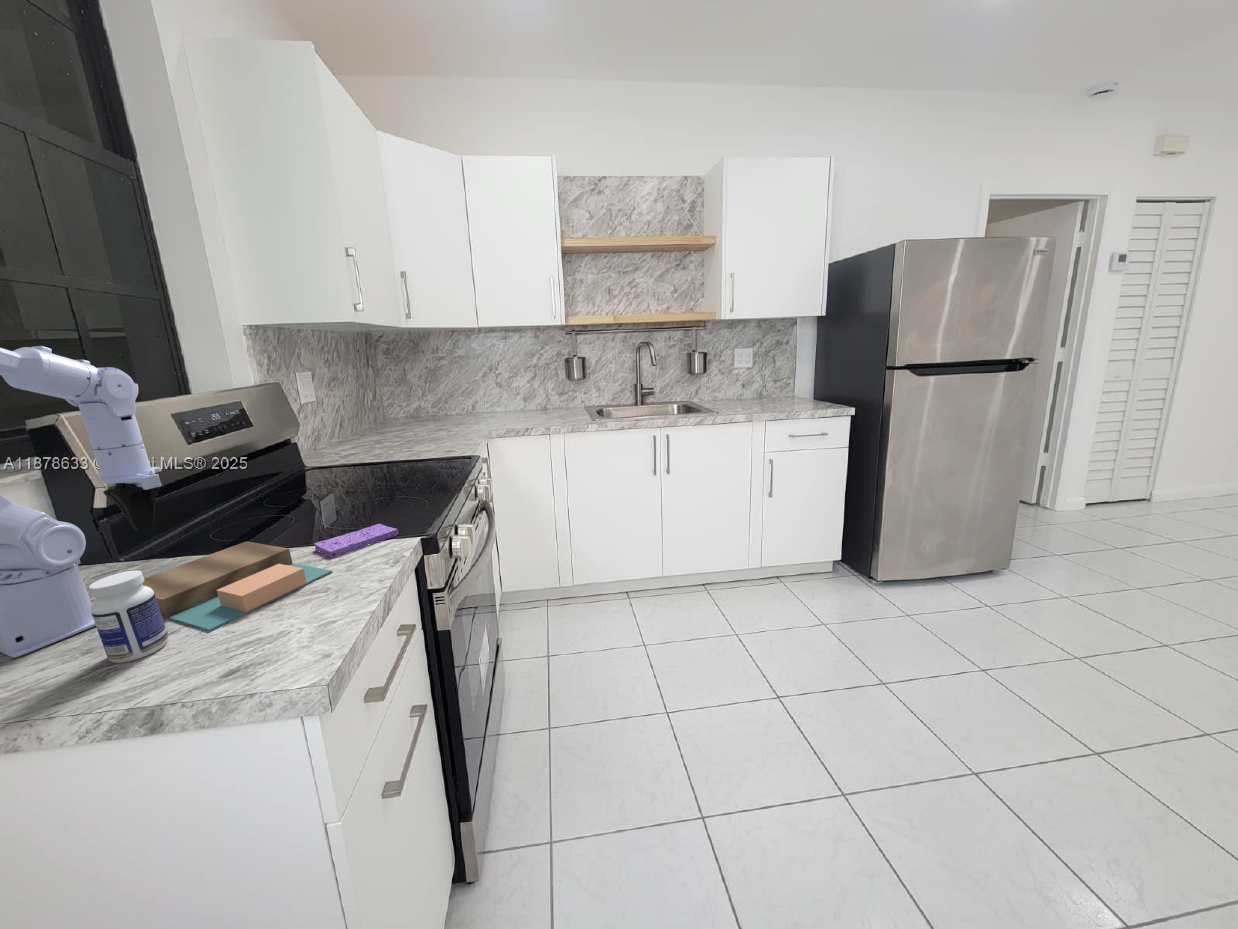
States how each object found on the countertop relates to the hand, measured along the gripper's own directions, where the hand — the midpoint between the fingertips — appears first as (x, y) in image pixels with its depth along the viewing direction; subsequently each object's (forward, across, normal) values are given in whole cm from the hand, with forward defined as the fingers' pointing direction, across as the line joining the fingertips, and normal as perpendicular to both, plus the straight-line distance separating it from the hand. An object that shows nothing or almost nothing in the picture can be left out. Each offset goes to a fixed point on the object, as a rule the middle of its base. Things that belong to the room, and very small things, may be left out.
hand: (144, 527), depth 81 cm
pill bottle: (+10, -23, +12) cm, 28 cm away
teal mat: (+9, -22, -3) cm, 24 cm away
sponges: (+10, -19, -23) cm, 31 cm away
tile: (+8, -24, -3) cm, 26 cm away
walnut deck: (+9, -11, -2) cm, 15 cm away
